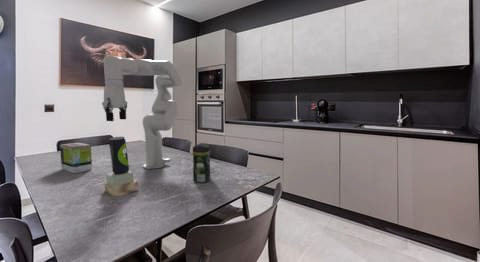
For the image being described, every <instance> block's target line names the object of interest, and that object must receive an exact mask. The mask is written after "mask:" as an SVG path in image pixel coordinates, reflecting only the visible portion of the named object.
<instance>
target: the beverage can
mask: <svg viewBox="0 0 480 262" xmlns="http://www.w3.org/2000/svg"><path fill="white" fill-rule="evenodd" d="M108 139H109V140H108V147H109V155H110V161H111V168H112V172H113V173H114V174H124V173H127V172H128V170H129V171H130V166H129V157H128V149H127V141H126V139H125V136H114V137H109V138H108Z"/></svg>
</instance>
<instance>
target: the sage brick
mask: <svg viewBox="0 0 480 262" xmlns="http://www.w3.org/2000/svg"><path fill="white" fill-rule="evenodd" d="M105 176H106V177H105V178H106V182H107V183H109V184H110V185H112V186H113V187H116V186H119V185H122V184H126V183H129V182H132V181H134V179H135V178H134V172H133V171H131V170H130V169H129V170H128V172H127V173H124V174H114V173H113V171H110V172H107V173H105Z"/></svg>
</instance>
